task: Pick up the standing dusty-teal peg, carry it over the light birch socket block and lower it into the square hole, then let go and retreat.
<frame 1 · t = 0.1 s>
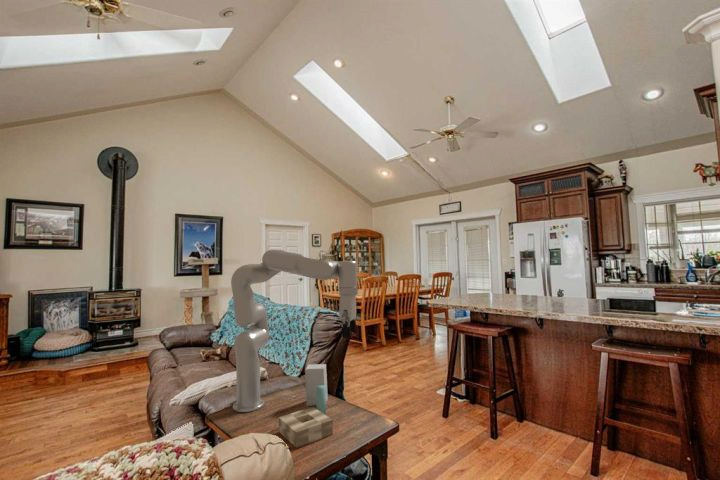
hand: (349, 334, 138), 31 cm above the table, tool pointing down, fingers open, 9 cm apart
socket block: (305, 432, 123), on the table
peg: (321, 418, 133), on the table
skincare box: (316, 403, 148), on the table
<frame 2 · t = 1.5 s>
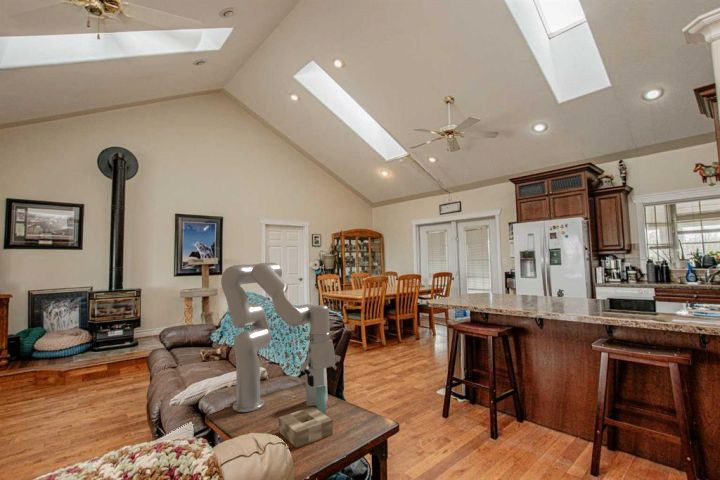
hand: (322, 382, 134), 14 cm above the table, tool pointing down, fingers open, 9 cm apart
nothing on the table moved.
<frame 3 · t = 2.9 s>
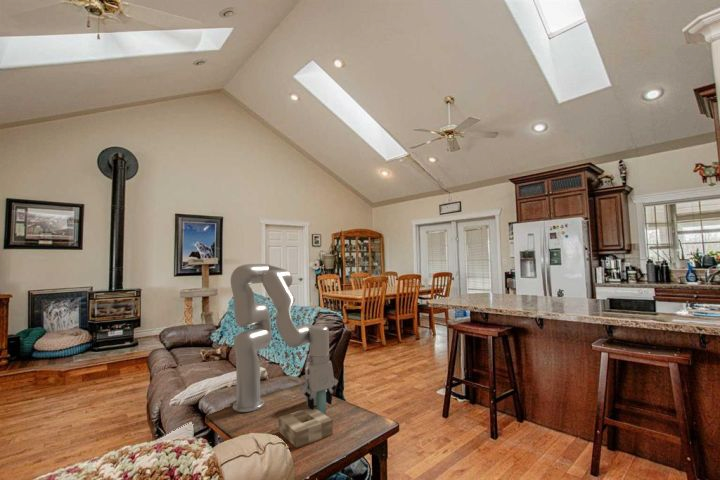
hand: (320, 405, 133), 5 cm above the table, tool pointing down, fingers open, 7 cm apart
nothing on the table moved.
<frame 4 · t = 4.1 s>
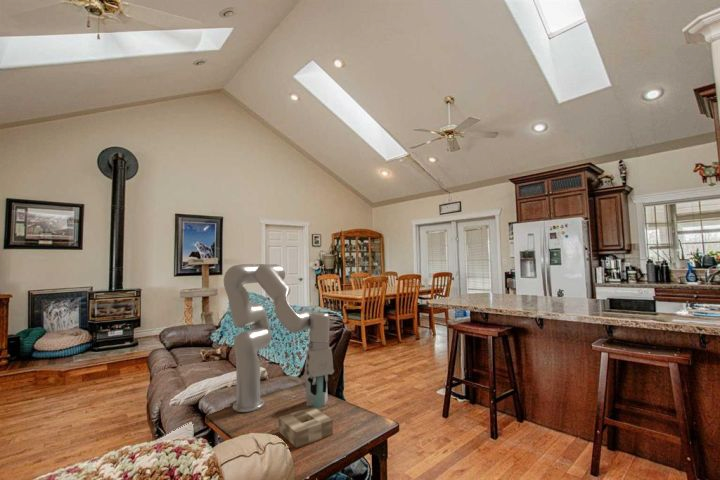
hand: (318, 392, 134), 10 cm above the table, tool pointing down, fingers closed on peg, 3 cm apart
peg: (318, 406, 134), point 4 cm above the table, touching gripper
everything else where it was.
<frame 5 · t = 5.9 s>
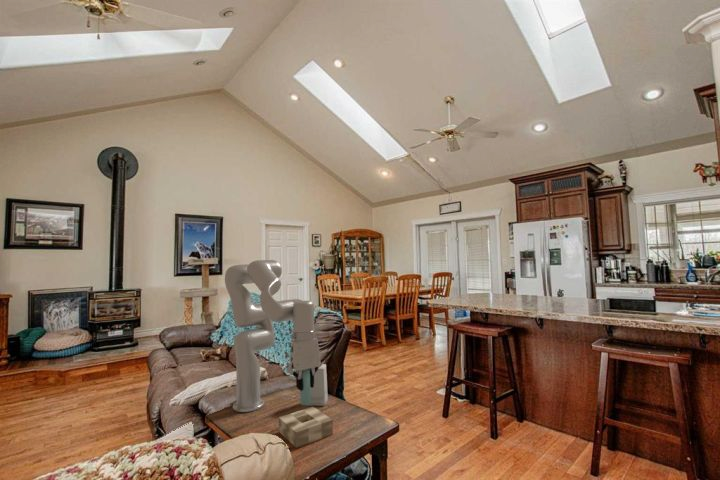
hand: (305, 387, 123), 16 cm above the table, tool pointing down, fingers closed on peg, 3 cm apart
peg: (305, 403, 123), point 10 cm above the table, touching gripper
everything else where it was.
when the fingers open (7 cm above the table, at t = 8.1 s): peg drops 1 cm, resting in socket block.
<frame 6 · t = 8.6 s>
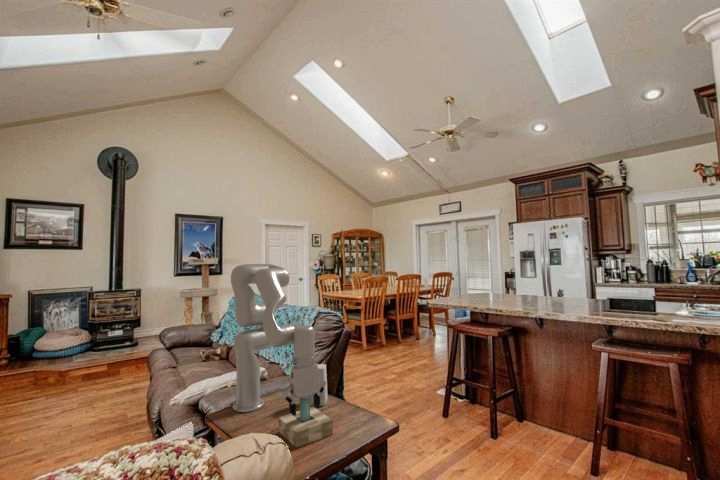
hand: (305, 410, 123), 8 cm above the table, tool pointing down, fingers open, 9 cm apart
peg: (305, 432, 123), resting in socket block
everything else where it was.
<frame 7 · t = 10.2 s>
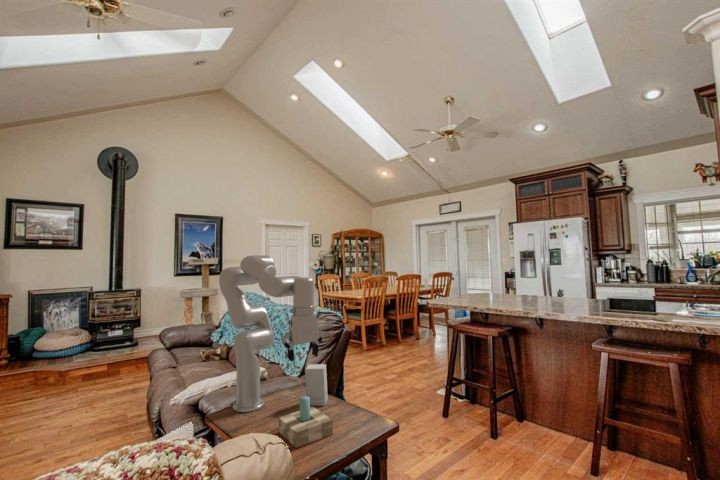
hand: (303, 357, 127), 25 cm above the table, tool pointing down, fingers open, 9 cm apart
nothing on the table moved.
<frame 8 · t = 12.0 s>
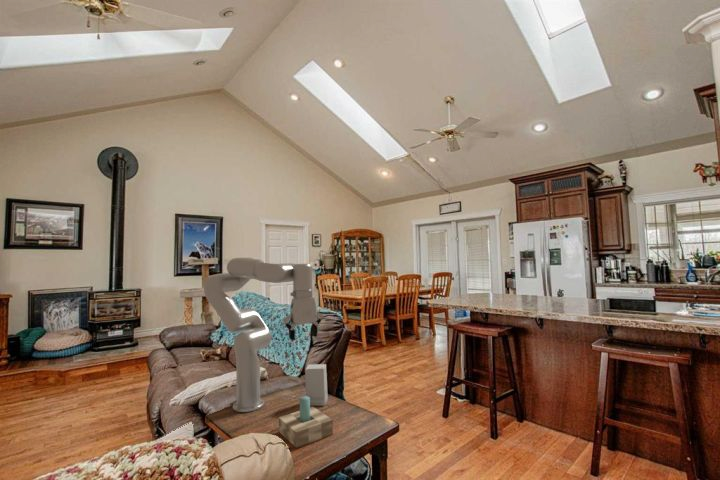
hand: (303, 337, 138), 30 cm above the table, tool pointing down, fingers open, 9 cm apart
nothing on the table moved.
at the end: peg 0.1 cm off-centre on the socket block, point 0.0 cm above the socket block's base; peg tilted 0°; the gripper is holding nothing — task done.
